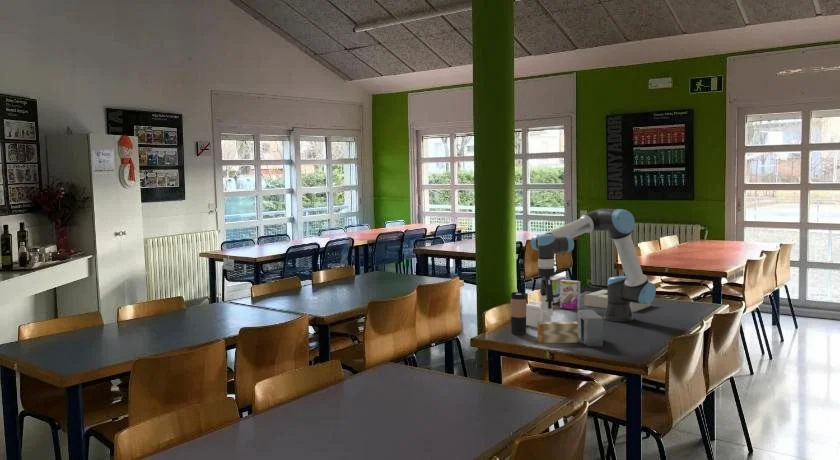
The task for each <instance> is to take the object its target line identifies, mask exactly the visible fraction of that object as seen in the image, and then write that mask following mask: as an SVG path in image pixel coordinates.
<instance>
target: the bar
mask: <svg viewBox="0 0 840 460" xmlns="http://www.w3.org/2000/svg"><path fill="white" fill-rule="evenodd" d="M537 342H538V343H539V344H551V343H552V344H553V343H554V344H559V343H560V344H561V343H562V344H565V343H566V344H567V343H575V344H577V343H579V337H578V321H551V322H538V328H537Z"/></svg>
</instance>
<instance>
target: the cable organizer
mask: <svg viewBox="0 0 840 460" xmlns="http://www.w3.org/2000/svg"><path fill="white" fill-rule="evenodd" d="M538 322H552V316H547V315H546V309H541V301H536V300H532V301H529V303H526V327H532V328H535V329H538Z"/></svg>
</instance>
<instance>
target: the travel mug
mask: <svg viewBox="0 0 840 460" xmlns="http://www.w3.org/2000/svg"><path fill="white" fill-rule="evenodd" d="M526 304H527V293H526V292H522V291H514V292H513V291H512V292H511V293H510V327H511V328H510V329H511V330H510V333H511V334H513V335H517V336H518V335H519V336H521V335H526V333H527V326H526Z"/></svg>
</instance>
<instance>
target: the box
mask: <svg viewBox="0 0 840 460" xmlns="http://www.w3.org/2000/svg"><path fill="white" fill-rule="evenodd" d="M607 304H608V292H607V289H600V290H597V291H593V292H589V293H586V294H584V296H583V306H584V307H585V306H586V307H592V308H600V309H606V307H607ZM651 306H652V302H651V303H649V304H638V303H633V302H630V307H631V310H632V313H635V312H638V311H640V310H643V309H646V308H649V307H651Z"/></svg>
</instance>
